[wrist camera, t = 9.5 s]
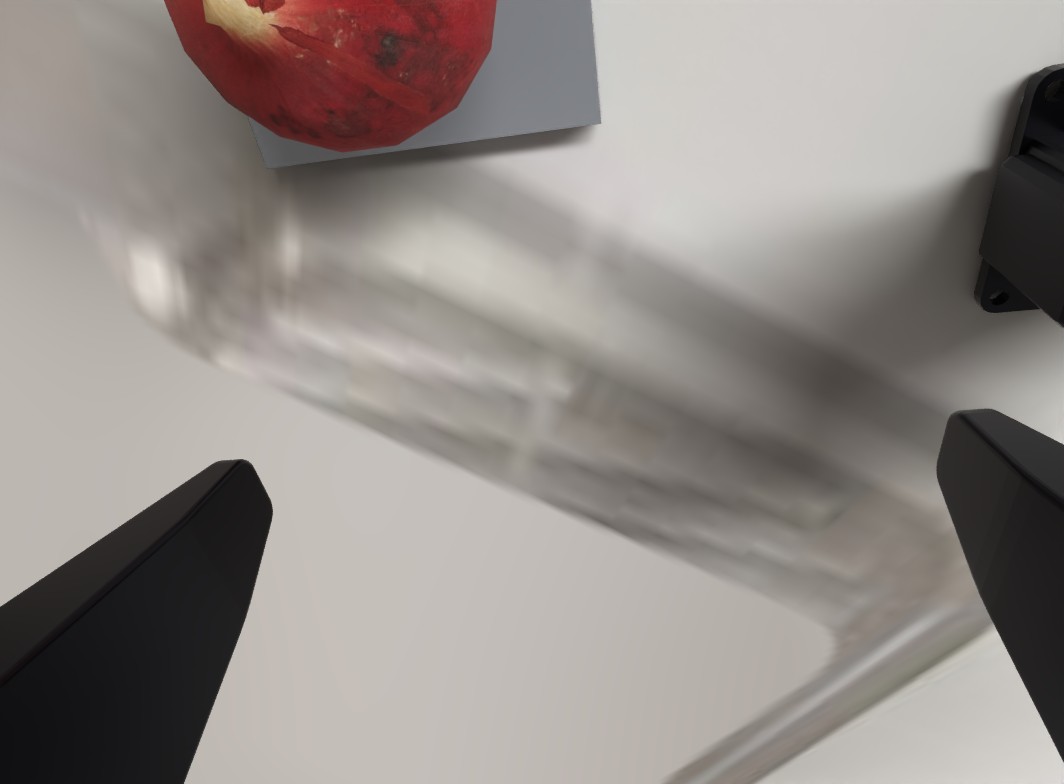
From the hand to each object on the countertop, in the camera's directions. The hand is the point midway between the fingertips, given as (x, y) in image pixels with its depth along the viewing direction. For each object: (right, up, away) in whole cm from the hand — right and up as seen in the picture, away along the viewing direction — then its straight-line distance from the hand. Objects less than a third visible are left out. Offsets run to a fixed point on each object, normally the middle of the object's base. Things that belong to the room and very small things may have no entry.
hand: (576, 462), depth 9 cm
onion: (-4, +11, +7) cm, 13 cm away
